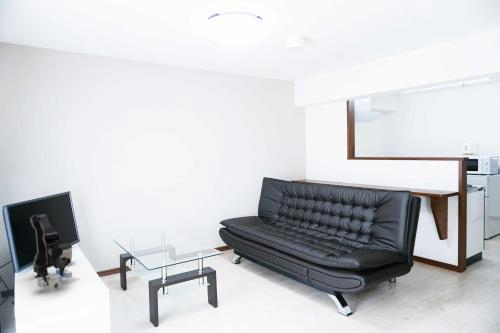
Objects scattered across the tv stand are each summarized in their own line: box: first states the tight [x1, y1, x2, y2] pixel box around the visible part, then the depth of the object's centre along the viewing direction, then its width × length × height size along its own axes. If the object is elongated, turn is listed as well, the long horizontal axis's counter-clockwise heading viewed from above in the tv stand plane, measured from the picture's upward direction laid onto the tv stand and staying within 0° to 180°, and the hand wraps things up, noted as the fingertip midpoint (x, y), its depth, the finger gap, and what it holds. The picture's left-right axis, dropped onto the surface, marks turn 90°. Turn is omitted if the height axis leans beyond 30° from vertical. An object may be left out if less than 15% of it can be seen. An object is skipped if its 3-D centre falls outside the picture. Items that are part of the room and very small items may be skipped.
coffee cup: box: [58, 242, 73, 268], centre depth 231 cm, size 9×9×15 cm
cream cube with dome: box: [47, 277, 59, 288], centre depth 197 cm, size 9×4×4 cm, turn 61°
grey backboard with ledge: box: [36, 268, 81, 292], centre depth 202 cm, size 14×18×6 cm
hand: (53, 279), depth 196 cm, fingers open, 9 cm apart
